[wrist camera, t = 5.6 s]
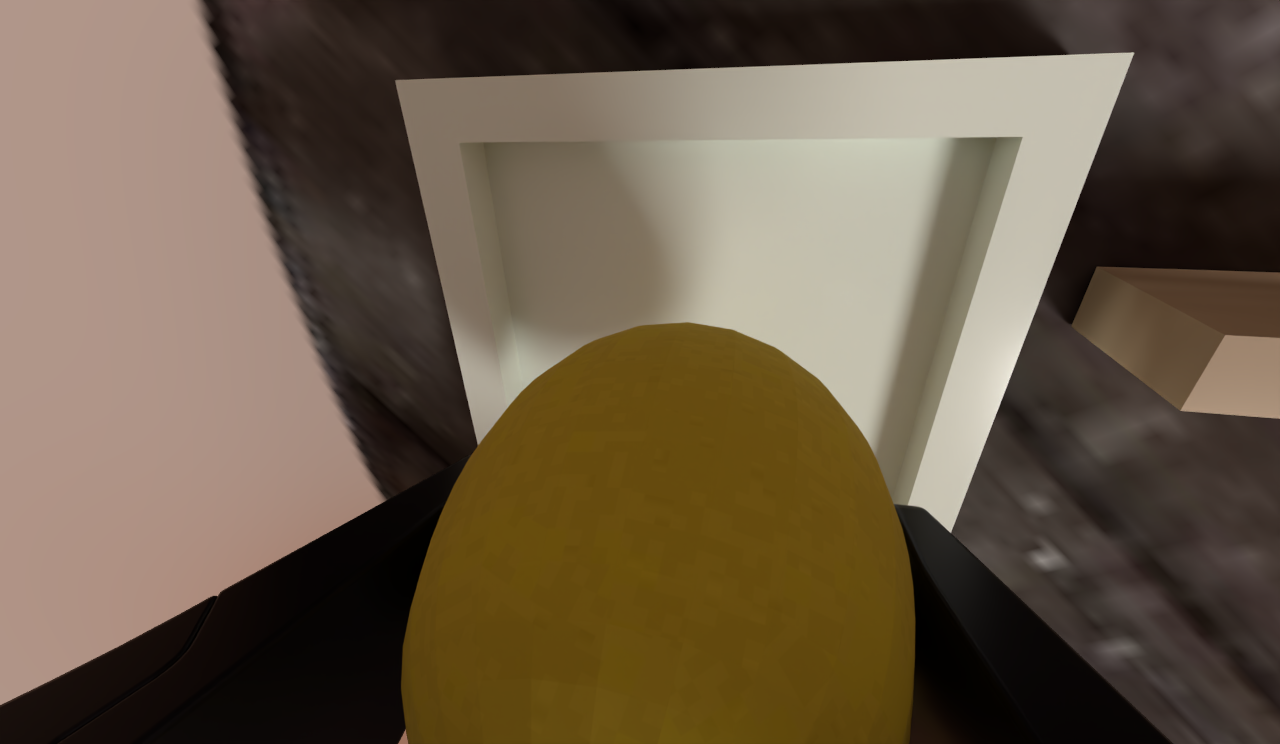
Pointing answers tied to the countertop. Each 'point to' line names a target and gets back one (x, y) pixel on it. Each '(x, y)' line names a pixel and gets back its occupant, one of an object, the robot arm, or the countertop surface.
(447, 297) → the dish
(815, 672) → the lemon
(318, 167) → the countertop surface
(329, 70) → the countertop surface
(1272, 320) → the u-shaped wooden frame
